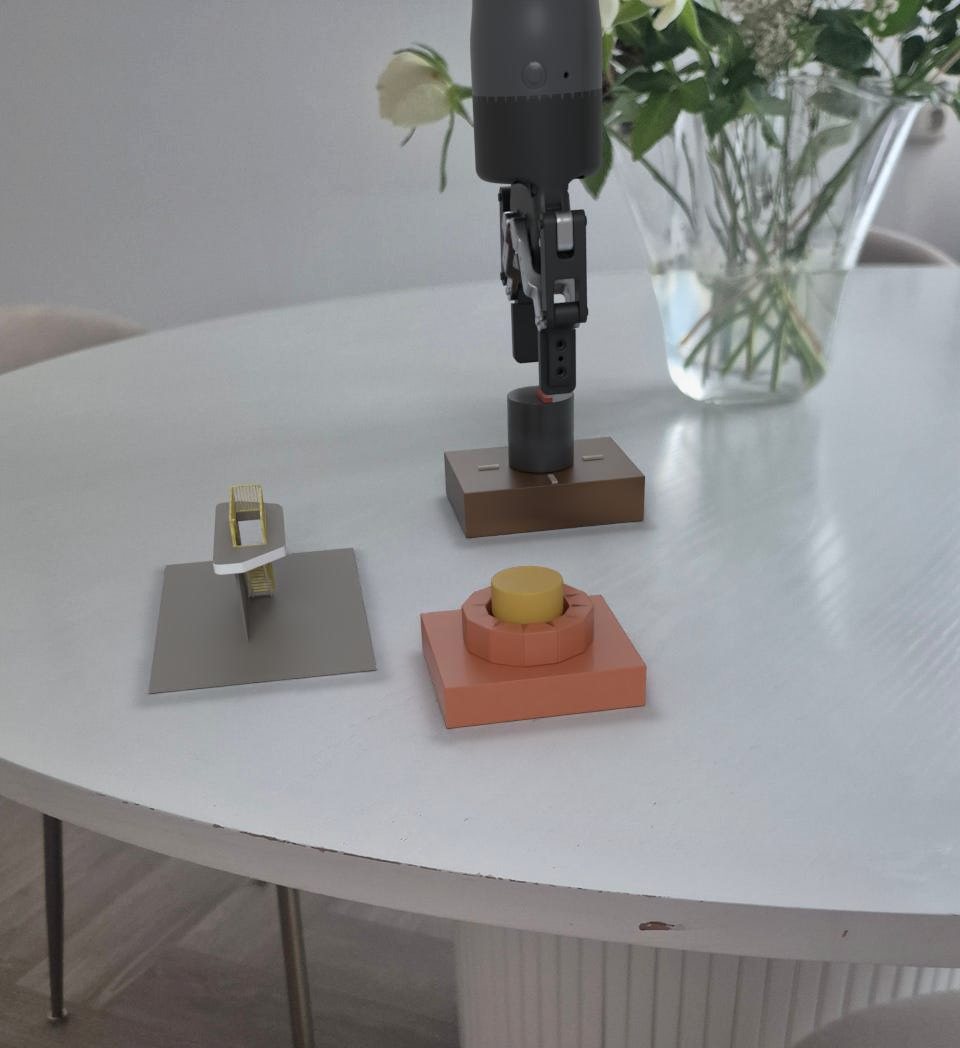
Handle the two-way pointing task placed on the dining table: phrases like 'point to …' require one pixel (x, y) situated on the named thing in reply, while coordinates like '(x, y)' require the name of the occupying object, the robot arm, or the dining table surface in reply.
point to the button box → (530, 662)
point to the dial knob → (540, 430)
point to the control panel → (543, 490)
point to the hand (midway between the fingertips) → (542, 376)
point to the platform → (259, 609)
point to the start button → (527, 594)
